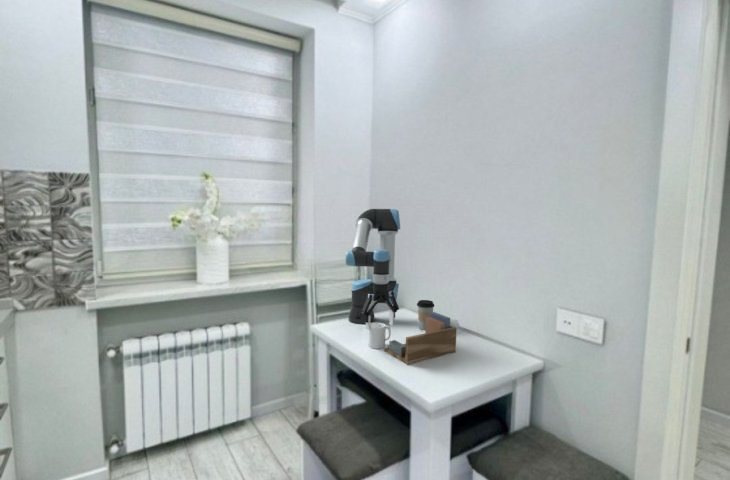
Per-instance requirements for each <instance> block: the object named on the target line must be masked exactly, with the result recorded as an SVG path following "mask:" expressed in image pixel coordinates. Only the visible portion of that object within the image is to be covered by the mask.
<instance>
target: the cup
mask: <svg viewBox="0 0 730 480" xmlns="http://www.w3.org/2000/svg"><path fill="white" fill-rule="evenodd" d="M386 330H387V331H388V334H387V336H386ZM391 333H392V332H391V327H390V326H388V325H386V324H385V323H383V322H372V323H370V330H368V329H367V346H368V348H370V349H374V350H379V349H381V350H382V349H384V348H385V346H386V341H388V340H389V339H390V338H391V335H392V334H391Z"/></svg>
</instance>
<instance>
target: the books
mask: <svg viewBox="0 0 730 480" xmlns="http://www.w3.org/2000/svg"><path fill="white" fill-rule="evenodd" d="M450 325H451V317H450V316H449V317H448V316H446V315H444V314H440V313H438V312H435V311H433V312H432V313H430V317H428V318H426V327H425V330H424V331H425V332H424V333H428V332H433V331H438V330H442V329H447V328H450Z"/></svg>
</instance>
